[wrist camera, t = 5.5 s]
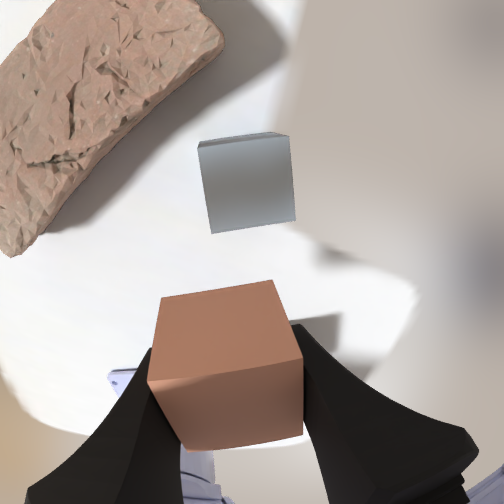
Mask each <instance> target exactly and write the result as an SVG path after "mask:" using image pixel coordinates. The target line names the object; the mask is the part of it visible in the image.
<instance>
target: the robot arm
mask: <svg viewBox="0 0 504 504" xmlns="http://www.w3.org/2000/svg"><path fill="white" fill-rule="evenodd" d="M291 328H292V331H293V333H294V336H295V338H296V341H297V343H298V346H299V348H300V351H301V354H302V356H303V421H304V423H305V426H306V428H307V431H308V433H309V436H310V438H311V441H312V443H313V446H314V449H315V452H316V456H317V459H318V463H319V466H320V469H321V474H322V477H323V481H324V485H325V489H326V492H327V496H328V500H329V504H504V464H503V465H502V466H501V467H500V468H499V469H498V470H496V471H495V472H494V473H492V474H491V475H490V476H488V477H487V478H485V479H484V480H483V481H481V482H480V483H478V484H477V485H475V486H474V487H473V488H471V489H469V490H468V491H466V492H465V490H464V488H463V487H462V484H463V483H464V481H465V480H464V478H463V476H462V475H461V473H462V472H463V471H464V470H465V469H466V468H467V467H468V466H469V465H470V464H471V462H473V461H474V459H475V458H476V457H477V455H478V453H479V449H478V447H477V446H476V444H475V443H474V441H473V439H472V438H471V436H470V435H469V434H468V433H467V432H466V430H465V429H464V428H462V427H459V426H455V425H452V424H448V423H445V422H441V421H438V420H435V419H432V418H430V417H427V416H425V415H422V414H420V413H417V412H415V411H413V410H411V409H409V408H407V407H405V406H403V405H401V404H399V403H397V402H395V401H393V400H391V399H389V398H388V397H386V396H384V395H383V394H381V393H379V392H378V391H376V390H375V389H373V388H372V387H370V386H369V385H367V384H366V383H364V382H363V381H362V380H360V379H359V378H357V377H356V376H355V375H354V374H352V373H351V372H350V371H349V370H347V369H346V368H345V367H344V366H343V365H341V364H340V363H339V362H338V361H337V360H336V359H335V358H334V357H332V356H331V355H330V354H329V353H328V352H327V351H326V350H325V349H324V348H323V347H322V346H321V345H320V344H319V343H318V342H317V341H316V340H315V339H314V338H313V337H312V336H311V335H310V334H309V332H308V331H307V330H306V329H305V328H304V327H303V326H302V325H301V324H296V325H291ZM151 351H152V348H149V350H148V351H147V353H146V354H145V356H144V358H143V360H142V361H141V363H140V365H139V367H138V368H137V370H134V371H121V372H109V373H108V375H107V379H108V381H109V383H110V384H111V386H112V388H113V389H114V391H115V392H116V394H117V396H118V397H119V399H118V401H117V402H116V403H115V405H114V406H113V408H112V409H111V411H110V412H109V414H108V415H107V416H106V418H105V419H104V420H103V422H102V423H101V424H100V425H99V427H98V428H97V429H96V430H95V431H94V433H93V434H92V435H91V436H90V437H89V438H88V439H87V440H86V441H85V443H84V444H82V445H81V447H80V448H79V449H78V450H77V451H76V452H75V453H74V454H73V455H71V456H70V457H69V458H68V459H67V460H66V461H65V462H64V463H63V464H61V465H60V466H59V467H57V468H56V469H55V470H54V471H52V472H51V473H50V474H48V475H47V476H46V477H44V478H43V479H41V480H40V481H38V482H37V483H35V484H34V485H32V486H30V487H29V488H28V490H27V494H26V499H25V503H24V504H235V503H234V502H233V500H232V499H230V498H229V497H226V496H222V495H221V487H220V485H219V484H214V483H215V470H214V458H213V450H211V451H201V452H187V451H186V449H185V448H184V446H183V444H182V443H181V441H180V440H179V438H178V436H177V435H176V433H175V431H174V430H173V428H172V426H171V425H170V423H169V421H168V420H167V418H166V416H165V414H164V412H163V411H162V409H161V407H160V405H159V404H158V402H157V400H156V398H155V396H154V394H153V392H152V390H151V389H150V387H149V385H148V383H147V377H148V370H149V364H150V358H151ZM115 381H116V382H115Z"/></svg>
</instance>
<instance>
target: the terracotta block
mask: <svg viewBox="0 0 504 504" xmlns="http://www.w3.org/2000/svg"><path fill="white" fill-rule="evenodd" d="M147 383H148V385H149V387H150V389H151V390H152V392H153V394H154V396H155V398H156V400H157V402H158V404H159V405H160V407H161V409H162V411H163V412H164V414H165V416H166V418H167V420H168V421H169V423H170V425H171V426H172V428H173V430H174V431H175V433H176V435H177V436H178V438H179V440H180V441H181V443H182V444H183V446H184V448H185V449H186V451H187V452H201V451H211V450H220V449H228V448H236V447H243V446H249V445H255V444H261V443H267V442H272V441H277V440H282V439H287V438H291V437H296V436H300V435H303V356H302V354H301V351H300V348H299V346H298V343H297V341H296V338H295V336H294V333H293V331H292V328H291V326H290V323H289V320H288V318H287V315H286V313H285V310H284V308H283V305H282V303H281V300H280V298H279V295H278V293H277V290H276V288H275V285H274V283H273V280H267V281H262V282H256V283H250V284H244V285H238V286H233V287H227V288H220V289H214V290H208V291H202V292H196V293H189V294H183V295H176V296H170V297H163V298H161V302H160V307H159V312H158V318H157V323H156V328H155V334H154V340H153V345H152V351H151V358H150V364H149V370H148V377H147Z"/></svg>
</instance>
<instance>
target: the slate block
mask: <svg viewBox="0 0 504 504" xmlns="http://www.w3.org/2000/svg"><path fill="white" fill-rule="evenodd" d="M197 150H198V156H199V162H200V169H201V175H202V181H203V187H204V193H205V199H206V205H207V211H208V217H209V223H210V228H211V234H214V233H220V232H227V231H233V230H239V229H245V228H251V227H258V226H264V225H270V224H277V223H283V222H290V221H295V220H296V218H295V203H294V191H293V177H292V166H291V154H290V144H289V136H286V135H281V134H277V133H273V132H268V133H259V134H250V135H242V136H235V137H227V138H220V139H214V140H208V141H201V142H199V145H198V148H197Z"/></svg>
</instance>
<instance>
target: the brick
mask: <svg viewBox="0 0 504 504" xmlns="http://www.w3.org/2000/svg"><path fill="white" fill-rule="evenodd" d="M224 47H225V40H224V35H223V33H222V31H221V30H220V29H219V28H218V27H217V26H216V24H215V23H214V22H213V21H212V20H211V19H210V18H208V17H207V16H206V15H205V14H203V12H202V10H201V6H200V5H199V4H198V3H197V2H196V1H195V0H55V2H54V3H53V4H52V5H51V6H50V7H49V8H48V9H47V10H46V12H45V13H44V15H43V16H42V17H41V18H40V19H38V20H37V22H36V23H35V24H34V26H33V27H32V29H31V31H30V32H29V34H28V36H27V38H25V39H24V40H22V41H21V42H20V43H18V44H17V46H16V47H15V48H14V49H13V51H12V52H11V53H10V54H9V55H8V56H7V58H6V59H5V60H4V61H3V63H2V64H1V65H0V250H1V251H2V252H3V253H4V254H5V255H7V256H8V257H10V258H12V257H14V256H17V255H22V253H23V252H24V251H25V250H26V249H27V248H28V247H29V246H31V245H32V244H33V243H34V242H35V240H36V239H37V237H38V235H39V234H41V233H43V232H44V230H45V229H46V227H47V226H48V225H49V224H50V223H51V222H52V221H53V219H54V217H55V216H56V215H57V213H58V212H59V210H60V209H61V207H62V206H63V204H64V203H65V201H66V200H67V199H68V198H69V196H70V195H71V194H72V192H73V191H74V190H75V189H76V188H77V187H78V186H79V185H80V184H81V183H82V182H83V181H84V180H85V179H86V178H87V177H88V176H89V174H90V173H91V171H92V170H93V168H94V166H95V165H96V164H97V163H98V162H99V161H100V160H101V159H102V158H103V157H104V156H105V155H107V154H108V153H109V152H110V151H111V150H112V149H113V147H114V146H115V145H116V144H117V143H118V142H119V141H120V140H121V139H122V138H123V137H124V136H125V135H126V134H128V133H129V132H130V131H131V129H132V128H133V127H134V126H136V125H137V124H138V123H139V122H140V121H141V120H142V119H143V118H144V117H145V116H147V115H148V114H149V113H150V112H151V111H152V110H153V108H154V107H155V106H157V105H158V104H159V103H160V102H161V101H163V100H164V99H165V98H166V97H167V96H168V95H170V94H171V93H172V92H173V91H175V90H176V89H177V88H178V87H179V86H181V85H182V84H183V83H184V82H186V81H187V80H188V79H189V78H190V77H192V76H193V75H194V74H195V73H196V72H198V71H199V70H201V69H203V68H204V67H205V66H206V65H208V64H209V63H210V62H212V61H213V60H214V59H215V58H216V57H217V56H218V55H219V54H220V53H221V52H222V51H223V50H222V49H223V48H224Z"/></svg>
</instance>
